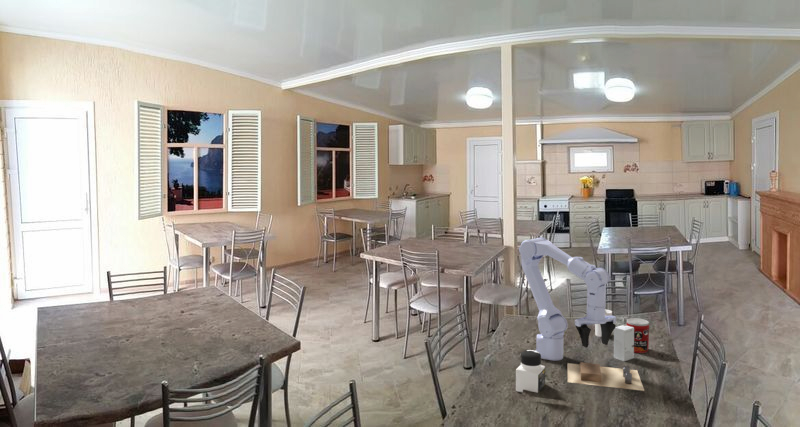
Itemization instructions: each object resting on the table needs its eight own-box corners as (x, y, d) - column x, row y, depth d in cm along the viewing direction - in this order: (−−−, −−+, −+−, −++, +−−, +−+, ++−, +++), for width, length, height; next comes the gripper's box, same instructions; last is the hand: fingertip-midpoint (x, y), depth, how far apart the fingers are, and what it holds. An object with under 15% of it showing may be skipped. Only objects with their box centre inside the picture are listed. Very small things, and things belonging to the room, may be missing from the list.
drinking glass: (605, 338, 202) (605, 314, 201) (590, 334, 207) (591, 310, 206) (615, 335, 205) (615, 311, 204) (600, 331, 211) (601, 307, 210)
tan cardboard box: (580, 380, 160) (581, 372, 160) (580, 369, 169) (580, 362, 169) (601, 382, 159) (601, 374, 158) (599, 371, 167) (599, 364, 167)
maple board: (567, 385, 159) (567, 382, 159) (567, 366, 175) (567, 363, 174) (644, 394, 153) (644, 390, 153) (637, 373, 168) (637, 370, 168)
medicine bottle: (538, 396, 152) (538, 358, 151) (515, 391, 156) (515, 353, 155) (545, 387, 158) (545, 350, 157) (523, 382, 162) (523, 346, 161)
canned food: (626, 352, 187) (627, 323, 186) (625, 344, 195) (626, 317, 194) (649, 354, 185) (650, 325, 183) (647, 347, 192) (648, 319, 191)
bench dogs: (625, 385, 157) (625, 374, 157) (622, 376, 164) (622, 366, 164) (632, 386, 157) (632, 375, 157) (629, 377, 163) (629, 366, 163)
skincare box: (624, 364, 176) (625, 330, 174) (612, 360, 179) (613, 327, 178) (634, 360, 179) (635, 327, 178) (622, 356, 183) (623, 324, 182)
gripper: (584, 310, 161) (583, 351, 162) (623, 306, 165) (621, 346, 166) (571, 304, 168) (570, 344, 169) (608, 301, 172) (607, 339, 173)
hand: (594, 345), depth 168 cm, fingers open, 7 cm apart
